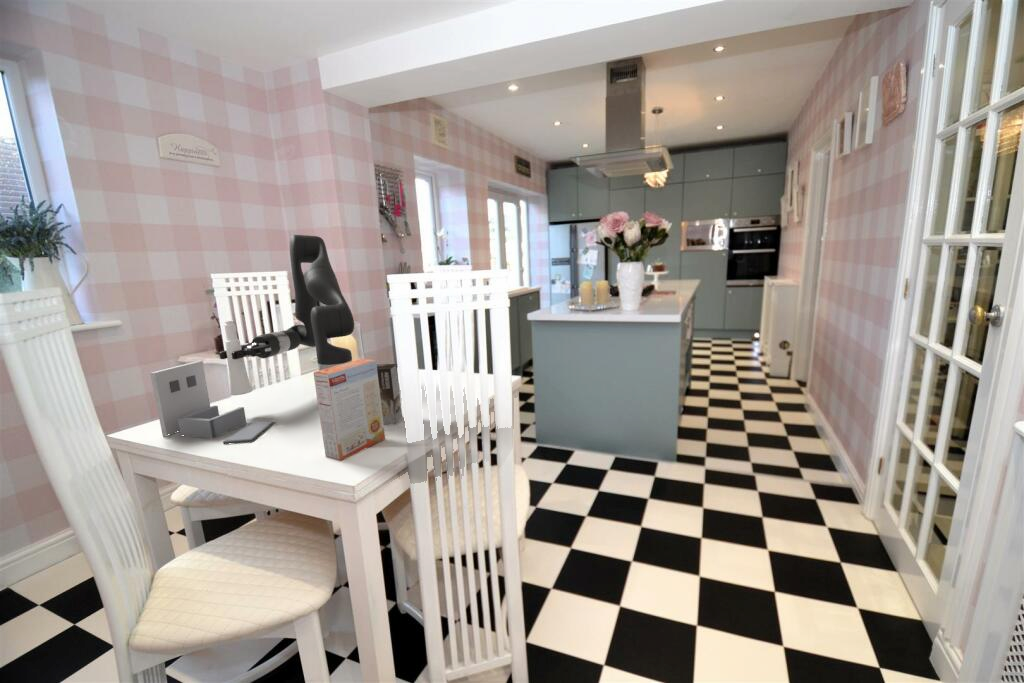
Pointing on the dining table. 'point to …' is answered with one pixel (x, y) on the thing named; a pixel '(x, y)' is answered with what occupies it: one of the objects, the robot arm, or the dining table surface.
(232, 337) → the cosmetic bottle
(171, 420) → the outlet dock
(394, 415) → the coffee box
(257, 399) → the dining table surface
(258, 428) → the phone
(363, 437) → the cracker box
